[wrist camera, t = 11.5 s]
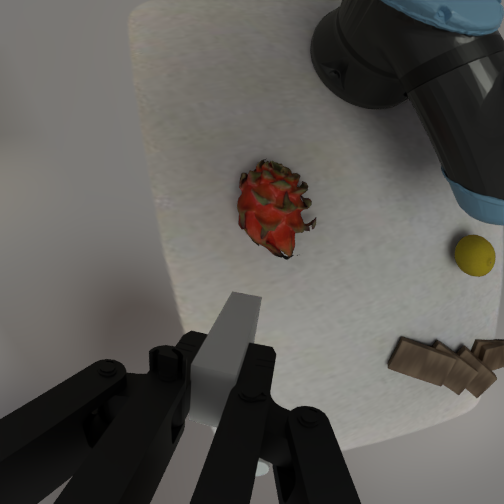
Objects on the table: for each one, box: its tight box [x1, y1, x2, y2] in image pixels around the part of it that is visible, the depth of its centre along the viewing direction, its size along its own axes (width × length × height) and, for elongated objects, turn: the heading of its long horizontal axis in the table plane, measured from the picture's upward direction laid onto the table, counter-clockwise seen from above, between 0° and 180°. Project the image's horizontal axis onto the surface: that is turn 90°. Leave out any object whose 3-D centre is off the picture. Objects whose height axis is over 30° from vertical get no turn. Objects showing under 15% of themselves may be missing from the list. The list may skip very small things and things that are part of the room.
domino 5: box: [456, 345, 497, 398], centre depth 41 cm, size 5×2×10 cm
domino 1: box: [388, 337, 456, 386], centre depth 41 cm, size 5×2×10 cm
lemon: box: [455, 235, 495, 277], centre depth 35 cm, size 6×6×8 cm
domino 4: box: [478, 340, 504, 371], centre depth 41 cm, size 5×2×10 cm
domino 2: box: [432, 340, 478, 395], centre depth 41 cm, size 5×2×10 cm
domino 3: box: [471, 339, 504, 357], centre depth 43 cm, size 5×2×10 cm
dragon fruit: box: [237, 159, 316, 260], centre depth 36 cm, size 8×8×12 cm
